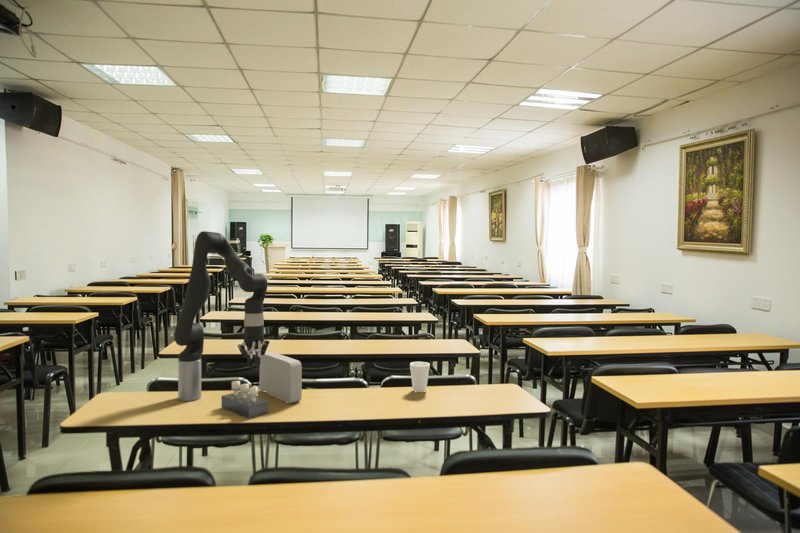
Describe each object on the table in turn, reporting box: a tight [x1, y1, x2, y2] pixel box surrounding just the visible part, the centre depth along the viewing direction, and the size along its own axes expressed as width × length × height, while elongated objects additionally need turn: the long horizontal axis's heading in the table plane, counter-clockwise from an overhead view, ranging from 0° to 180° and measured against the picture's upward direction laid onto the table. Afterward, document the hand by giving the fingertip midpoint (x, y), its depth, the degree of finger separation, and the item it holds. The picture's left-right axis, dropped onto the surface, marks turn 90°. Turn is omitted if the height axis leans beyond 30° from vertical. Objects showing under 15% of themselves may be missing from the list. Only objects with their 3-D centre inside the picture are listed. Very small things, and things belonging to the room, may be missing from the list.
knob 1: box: [231, 380, 241, 396], centre depth 194 cm, size 3×3×8 cm
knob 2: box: [239, 383, 250, 399], centre depth 190 cm, size 3×3×8 cm
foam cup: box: [409, 361, 431, 393], centre depth 220 cm, size 10×9×13 cm
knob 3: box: [248, 386, 259, 403], centre depth 186 cm, size 3×3×8 cm
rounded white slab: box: [259, 351, 303, 404], centre depth 210 cm, size 29×8×18 cm, turn 44°
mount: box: [220, 390, 269, 420], centre depth 190 cm, size 20×9×5 cm, turn 51°
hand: (253, 366), depth 186 cm, fingers open, 2 cm apart
